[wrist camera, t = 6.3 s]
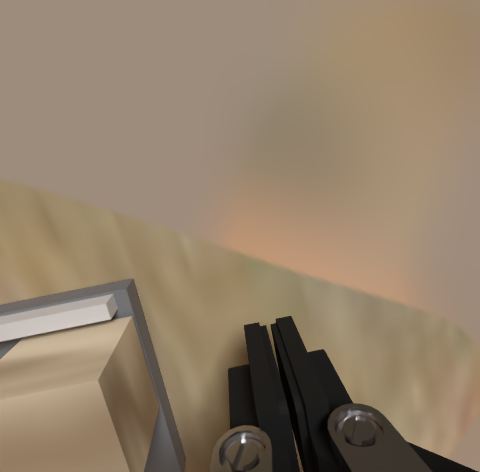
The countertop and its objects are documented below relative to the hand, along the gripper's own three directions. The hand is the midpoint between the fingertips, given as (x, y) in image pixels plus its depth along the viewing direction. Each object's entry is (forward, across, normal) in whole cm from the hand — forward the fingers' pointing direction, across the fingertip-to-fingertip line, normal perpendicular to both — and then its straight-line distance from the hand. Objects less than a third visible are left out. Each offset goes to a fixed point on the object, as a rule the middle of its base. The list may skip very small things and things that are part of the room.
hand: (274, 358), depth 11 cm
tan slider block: (+1, +7, +1) cm, 7 cm away
